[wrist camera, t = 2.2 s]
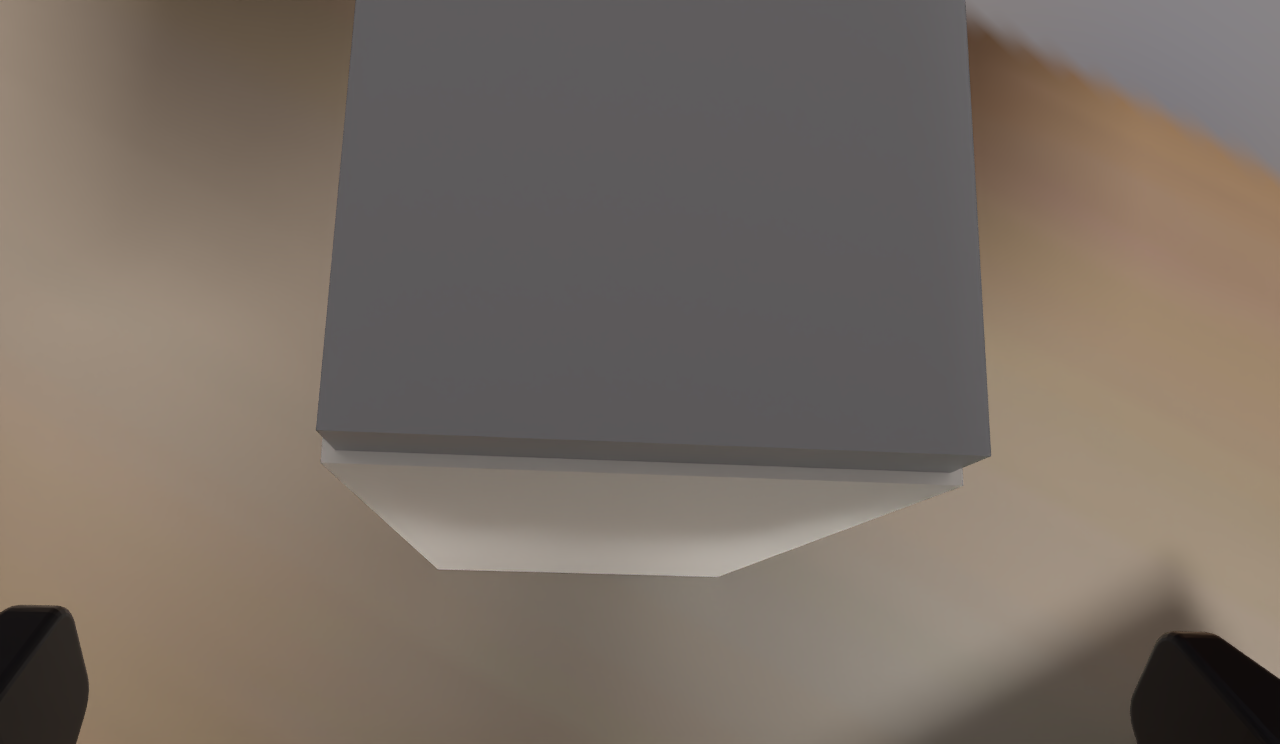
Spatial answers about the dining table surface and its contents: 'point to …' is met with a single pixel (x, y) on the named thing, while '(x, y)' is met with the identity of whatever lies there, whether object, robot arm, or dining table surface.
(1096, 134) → the dining table surface
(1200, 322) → the dining table surface
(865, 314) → the white rectangular box
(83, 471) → the dining table surface
